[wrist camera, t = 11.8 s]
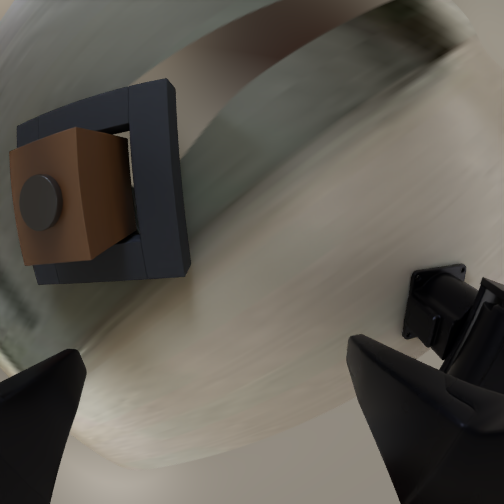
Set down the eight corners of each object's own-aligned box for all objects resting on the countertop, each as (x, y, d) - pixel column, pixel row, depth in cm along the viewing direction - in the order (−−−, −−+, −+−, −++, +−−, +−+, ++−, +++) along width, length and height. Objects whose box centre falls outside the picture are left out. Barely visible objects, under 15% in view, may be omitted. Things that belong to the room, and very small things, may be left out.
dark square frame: (175, 88, 16) (167, 77, 14) (191, 264, 20) (185, 277, 17) (35, 127, 16) (16, 125, 14) (53, 274, 20) (37, 285, 17)
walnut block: (127, 138, 17) (69, 125, 10) (137, 229, 19) (86, 264, 12) (70, 152, 17) (2, 151, 10) (79, 236, 19) (18, 269, 12)
